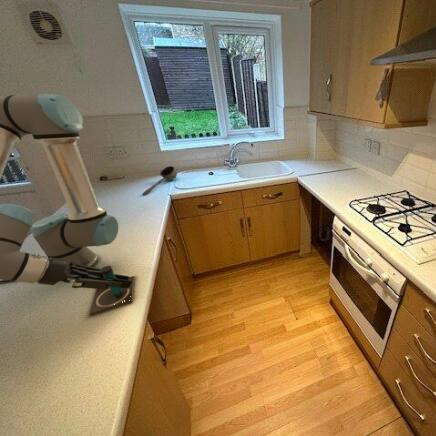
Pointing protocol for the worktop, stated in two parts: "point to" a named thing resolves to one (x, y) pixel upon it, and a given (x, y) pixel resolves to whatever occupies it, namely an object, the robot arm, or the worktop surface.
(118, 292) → the marker
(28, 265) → the robot arm
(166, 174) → the ladle
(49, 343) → the worktop surface
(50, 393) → the worktop surface
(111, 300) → the induction cooktop
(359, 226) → the worktop surface
